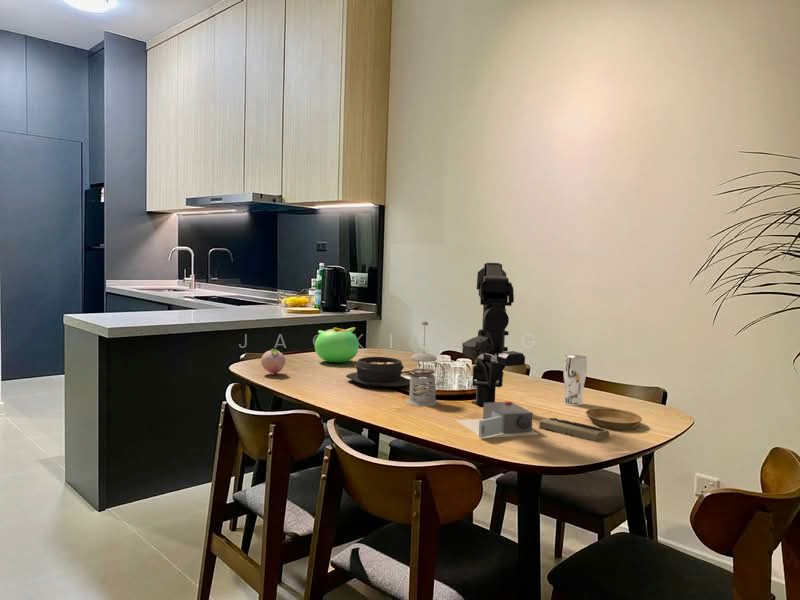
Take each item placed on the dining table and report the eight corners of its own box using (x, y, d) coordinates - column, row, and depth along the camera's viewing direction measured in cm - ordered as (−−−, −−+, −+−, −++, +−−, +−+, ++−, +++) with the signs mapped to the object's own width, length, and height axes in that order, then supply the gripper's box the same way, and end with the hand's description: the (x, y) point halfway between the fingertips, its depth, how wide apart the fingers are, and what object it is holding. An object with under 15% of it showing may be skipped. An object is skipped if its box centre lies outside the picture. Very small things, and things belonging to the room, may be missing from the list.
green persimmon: (313, 365, 235) (314, 328, 233) (315, 358, 251) (316, 323, 250) (358, 366, 236) (359, 329, 235) (358, 359, 253) (359, 324, 252)
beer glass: (578, 407, 181) (581, 359, 180) (557, 403, 186) (560, 355, 185) (588, 404, 186) (591, 356, 185) (568, 399, 191) (570, 353, 190)
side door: (482, 438, 144) (483, 421, 143) (478, 437, 145) (478, 420, 144) (505, 433, 149) (506, 416, 148) (501, 431, 150) (501, 415, 150)
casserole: (333, 382, 205) (334, 358, 204) (368, 375, 220) (369, 352, 219) (390, 394, 190) (391, 368, 189) (423, 385, 205) (424, 361, 204)
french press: (402, 398, 185) (405, 319, 183) (438, 398, 187) (441, 319, 185) (409, 406, 175) (412, 322, 173) (447, 405, 178) (450, 323, 176)
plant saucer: (650, 425, 164) (651, 416, 164) (626, 435, 154) (626, 425, 154) (601, 414, 175) (601, 405, 175) (575, 422, 165) (575, 413, 165)
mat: (456, 421, 161) (456, 420, 161) (508, 418, 166) (508, 417, 166) (481, 439, 146) (481, 437, 145) (539, 435, 150) (539, 434, 150)
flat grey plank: (609, 438, 151) (610, 425, 151) (596, 445, 145) (597, 432, 145) (552, 425, 162) (553, 413, 162) (538, 431, 156) (539, 419, 155)
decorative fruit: (258, 372, 217) (259, 345, 216) (280, 371, 220) (281, 345, 219) (264, 377, 208) (264, 349, 208) (287, 376, 212) (287, 349, 211)
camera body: (482, 420, 161) (483, 400, 160) (509, 419, 163) (510, 399, 163) (505, 435, 148) (506, 413, 148) (534, 433, 151) (535, 411, 150)
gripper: (447, 323, 155) (444, 381, 156) (492, 333, 139) (489, 398, 140) (481, 321, 160) (478, 378, 162) (528, 331, 144) (524, 393, 146)
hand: (491, 386), depth 152 cm, fingers closed
